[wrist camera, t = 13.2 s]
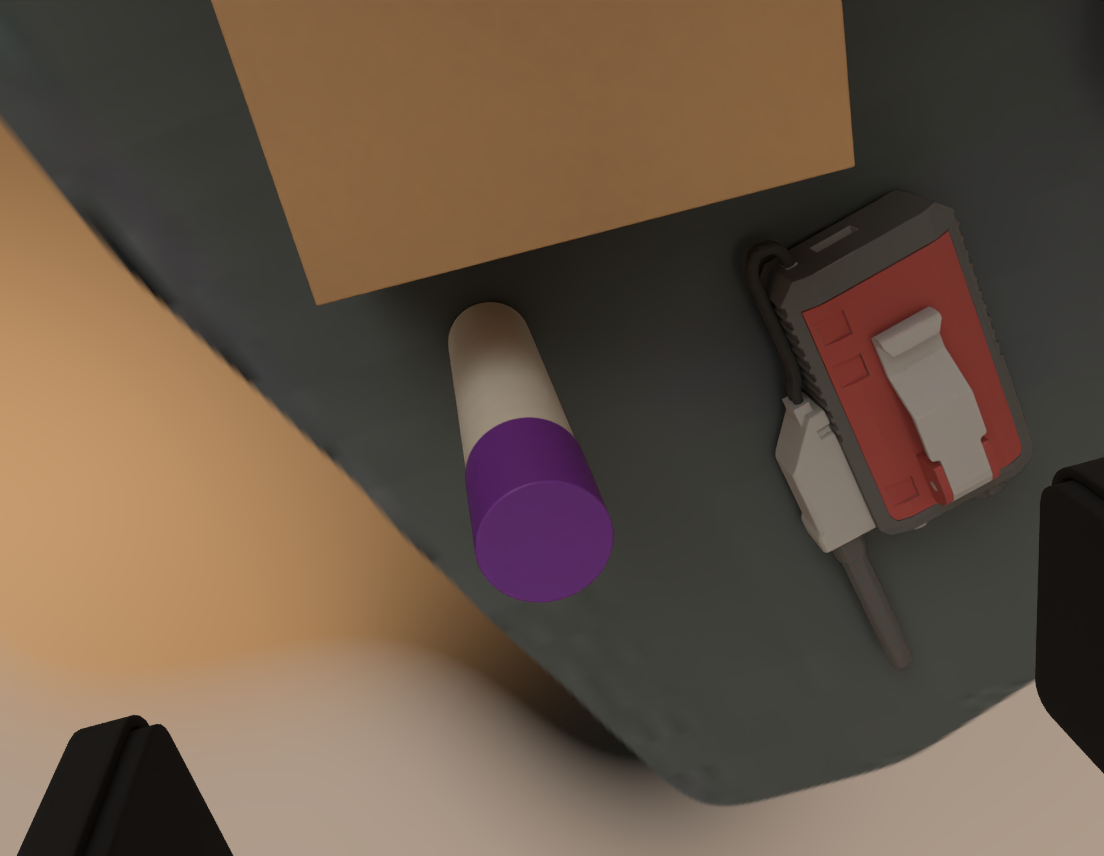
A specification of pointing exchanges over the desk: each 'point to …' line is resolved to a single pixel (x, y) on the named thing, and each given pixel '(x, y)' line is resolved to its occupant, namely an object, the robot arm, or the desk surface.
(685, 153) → the carton
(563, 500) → the marker
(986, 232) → the desk surface
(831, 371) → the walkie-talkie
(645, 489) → the desk surface
